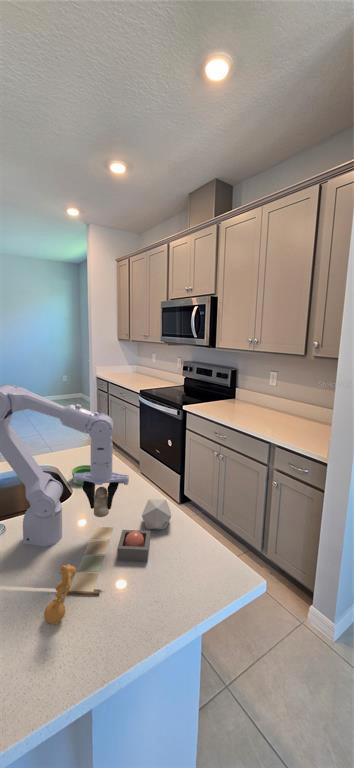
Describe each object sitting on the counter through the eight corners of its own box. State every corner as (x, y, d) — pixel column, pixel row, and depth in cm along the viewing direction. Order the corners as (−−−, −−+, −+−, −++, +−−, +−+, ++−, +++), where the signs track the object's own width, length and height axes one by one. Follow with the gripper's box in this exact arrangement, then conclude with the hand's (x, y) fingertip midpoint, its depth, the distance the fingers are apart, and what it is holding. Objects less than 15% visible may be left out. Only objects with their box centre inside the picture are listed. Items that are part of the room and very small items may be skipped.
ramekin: (67, 484, 121) (66, 473, 120) (79, 474, 130) (79, 463, 129) (89, 488, 119) (89, 476, 118) (100, 477, 128) (100, 466, 127)
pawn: (92, 516, 88) (92, 490, 87) (95, 508, 92) (95, 483, 91) (107, 517, 88) (107, 491, 87) (109, 509, 92) (110, 484, 91)
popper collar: (116, 563, 82) (116, 549, 81) (121, 542, 90) (121, 529, 89) (148, 565, 82) (148, 550, 81) (150, 544, 90) (151, 530, 89)
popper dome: (123, 556, 83) (123, 538, 83) (126, 543, 88) (126, 526, 87) (143, 557, 83) (143, 539, 83) (144, 544, 88) (145, 527, 87)
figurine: (45, 606, 69) (43, 555, 67) (75, 599, 71) (74, 549, 69) (43, 642, 61) (41, 585, 59) (77, 633, 63) (76, 578, 61)
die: (159, 542, 92) (179, 511, 94) (133, 524, 93) (153, 493, 94) (160, 534, 100) (178, 505, 102) (135, 517, 101) (154, 489, 103)
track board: (62, 594, 72) (62, 591, 72) (90, 528, 96) (90, 525, 96) (98, 595, 72) (98, 592, 72) (118, 529, 96) (118, 526, 96)
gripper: (69, 465, 84) (70, 514, 86) (126, 467, 84) (125, 516, 86) (77, 454, 90) (77, 500, 93) (130, 456, 91) (129, 502, 93)
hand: (101, 507), depth 90 cm, fingers closed on pawn, 4 cm apart
